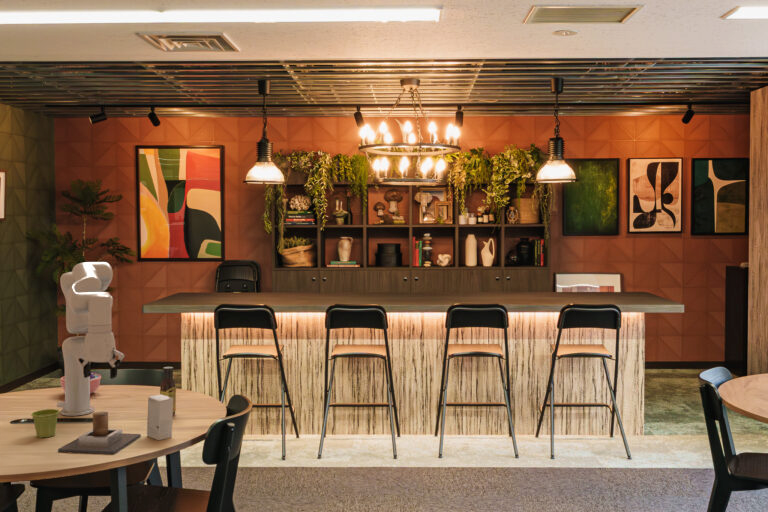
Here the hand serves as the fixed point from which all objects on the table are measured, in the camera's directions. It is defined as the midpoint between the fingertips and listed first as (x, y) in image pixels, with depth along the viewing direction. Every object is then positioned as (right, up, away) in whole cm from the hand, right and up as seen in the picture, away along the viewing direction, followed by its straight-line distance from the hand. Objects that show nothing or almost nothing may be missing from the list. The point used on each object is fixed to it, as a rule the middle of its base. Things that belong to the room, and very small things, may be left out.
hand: (100, 377), depth 241 cm
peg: (0, -23, +1) cm, 23 cm away
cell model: (-39, -21, +73) cm, 85 cm away
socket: (0, -24, +1) cm, 24 cm away
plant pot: (-24, -24, +10) cm, 35 cm away
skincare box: (+18, -24, +10) cm, 31 cm away
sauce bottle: (+12, -23, +39) cm, 47 cm away
